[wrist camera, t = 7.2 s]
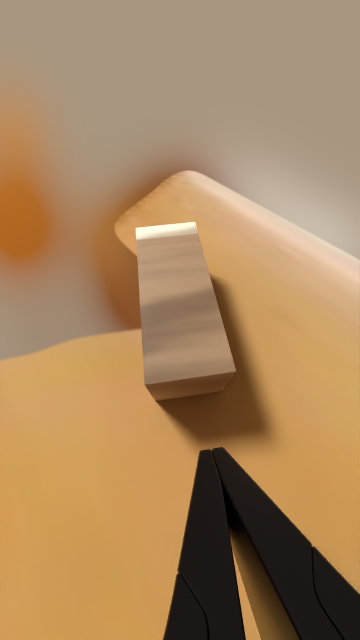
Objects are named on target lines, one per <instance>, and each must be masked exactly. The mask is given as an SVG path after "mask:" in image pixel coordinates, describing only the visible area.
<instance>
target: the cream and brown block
mask: <svg viewBox="0 0 360 640" xmlns="http://www.w3.org/2000/svg"><path fill="white" fill-rule="evenodd" d="M136 241H137V258H138V275H139V293H140V311H141V328H142V346H143V363H144V380H145V386H146V387H147V389H148V390H149V392H150V393H151V395H152V396H153V398H154V399H155V401H160V400H166V399H173V398H180V397H186V396H193V395H200V394H206V393H213V392H219V391H223V389H224V388H225V387H226V385H227V384H228V382H229V381H230V380H231V378H232V377H233V375H234V374H235V372H236V369H235V365H234V361H233V358H232V354H231V351H230V347H229V343H228V340H227V336H226V332H225V329H224V325H223V322H222V318H221V314H220V311H219V307H218V304H217V300H216V296H215V293H214V289H213V286H212V282H211V278H210V275H209V271H208V267H207V264H206V260H205V257H204V253H203V249H202V246H201V242H200V239H199V235H198V231H197V228H196V224H195V222H189V223H179V224H170V225H160V226H151V227H141V228H136Z"/></svg>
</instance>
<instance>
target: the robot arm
mask: <svg viewBox="0 0 360 640" xmlns="http://www.w3.org/2000/svg"><path fill="white" fill-rule="evenodd" d="M232 549H233V552H234V555H235V558H236V561H237V565H238V568H239V571H240V574H241V577H242V580H243V583H244V587H245V590H246V593H247V596H248V599H249V602H250V605H251V609H252V612H253V615H254V618H255V621H256V624H257V627H258V631H259V634H260V637H261V640H360V594H359V593H358V592H357V591H356V590H355V589H354V588H353V587H352V586H351V585H350V584H349V583H348V582H347V581H346V580H345V578H344V577H343V576H342V575H341V574H340V573H339V572H338V571H337V570H336V569H335V568H334V567H333V566H332V565H331V564H330V563H329V562H328V561H327V560H326V558H325V557H324V556H323V555H322V554H321V553H320V552H319V551H318V550H317V549H316V547H314V546H313V547H312V544H311V542H310V541H309V540H308V539H307V538H306V537H305V536H304V535H303V534H302V532H301V531H300V530H299V529H298V528H297V527H296V526H295V525H294V524H293V523H292V522H291V520H290V519H289V518H288V517H287V516H286V515H285V514H284V513H283V512H282V511H281V510H280V509H279V507H278V506H277V505H276V504H275V503H274V502H273V501H272V500H271V499H270V498H269V497H268V496H267V494H266V493H265V492H264V491H263V490H262V489H261V488H260V487H259V486H258V485H257V484H256V482H255V481H254V480H253V479H252V478H251V477H250V476H249V475H248V474H247V473H246V472H245V471H244V469H243V468H242V467H241V466H240V465H239V464H238V463H237V462H236V461H235V460H234V459H233V457H232V456H231V455H230V454H229V453H228V452H227V451H226V450H225V449H224V448H223V447H220V448H214V449H212V451H211V450H210V449H208V450H202V451H200V452H199V457H198V463H197V468H196V473H195V479H194V484H193V489H192V495H191V500H190V506H189V511H188V516H187V522H186V527H185V533H184V538H183V543H182V549H181V554H180V560H179V565H178V574H177V575H176V580H175V585H174V591H173V596H172V601H171V606H170V610H169V615H168V620H167V625H166V629H165V633H164V637H163V640H246V637H245V631H244V624H243V618H242V611H241V605H240V598H239V591H238V585H237V578H236V572H235V565H234V559H233V552H232Z"/></svg>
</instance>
